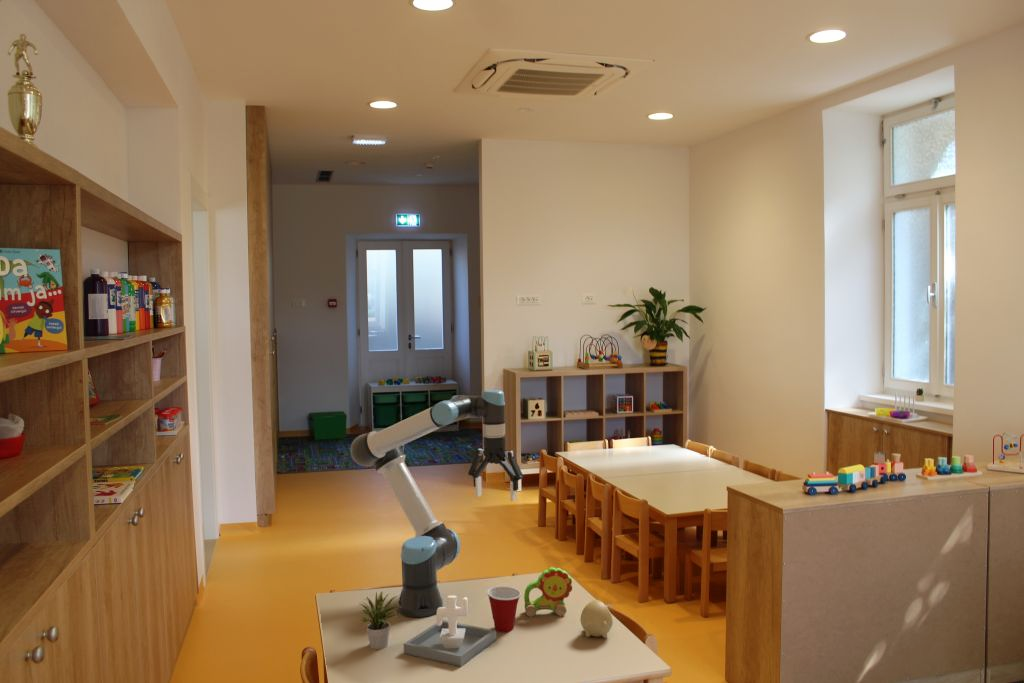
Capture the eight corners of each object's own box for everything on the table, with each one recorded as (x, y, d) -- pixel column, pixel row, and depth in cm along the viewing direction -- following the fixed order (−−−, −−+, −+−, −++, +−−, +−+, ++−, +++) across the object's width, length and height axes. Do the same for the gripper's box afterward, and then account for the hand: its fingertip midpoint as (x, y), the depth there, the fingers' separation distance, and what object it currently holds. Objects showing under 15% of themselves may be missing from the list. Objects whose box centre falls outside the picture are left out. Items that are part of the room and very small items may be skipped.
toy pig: (612, 646, 249) (614, 614, 256) (611, 628, 241) (613, 595, 248) (580, 644, 251) (583, 611, 258) (578, 626, 242) (581, 593, 250)
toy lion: (525, 617, 264) (524, 571, 264) (524, 611, 270) (523, 566, 269) (573, 615, 265) (572, 570, 264) (571, 609, 270) (570, 564, 270)
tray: (403, 653, 239) (403, 643, 239) (441, 629, 257) (441, 619, 257) (461, 666, 230) (460, 656, 229) (496, 640, 247) (496, 630, 247)
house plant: (373, 662, 234) (371, 606, 233) (343, 649, 243) (341, 596, 242) (410, 645, 245) (408, 592, 244) (380, 634, 254) (378, 582, 253)
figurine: (438, 640, 247) (437, 592, 246) (469, 640, 246) (468, 591, 246) (436, 650, 239) (434, 600, 239) (467, 650, 239) (466, 600, 238)
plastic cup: (518, 636, 249) (517, 598, 249) (484, 634, 252) (483, 596, 251) (525, 622, 260) (524, 586, 259) (492, 620, 262) (491, 584, 262)
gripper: (532, 436, 271) (533, 499, 272) (468, 432, 283) (470, 492, 284) (521, 439, 264) (523, 504, 265) (457, 435, 277) (459, 497, 278)
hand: (496, 498), depth 275 cm, fingers open, 13 cm apart
